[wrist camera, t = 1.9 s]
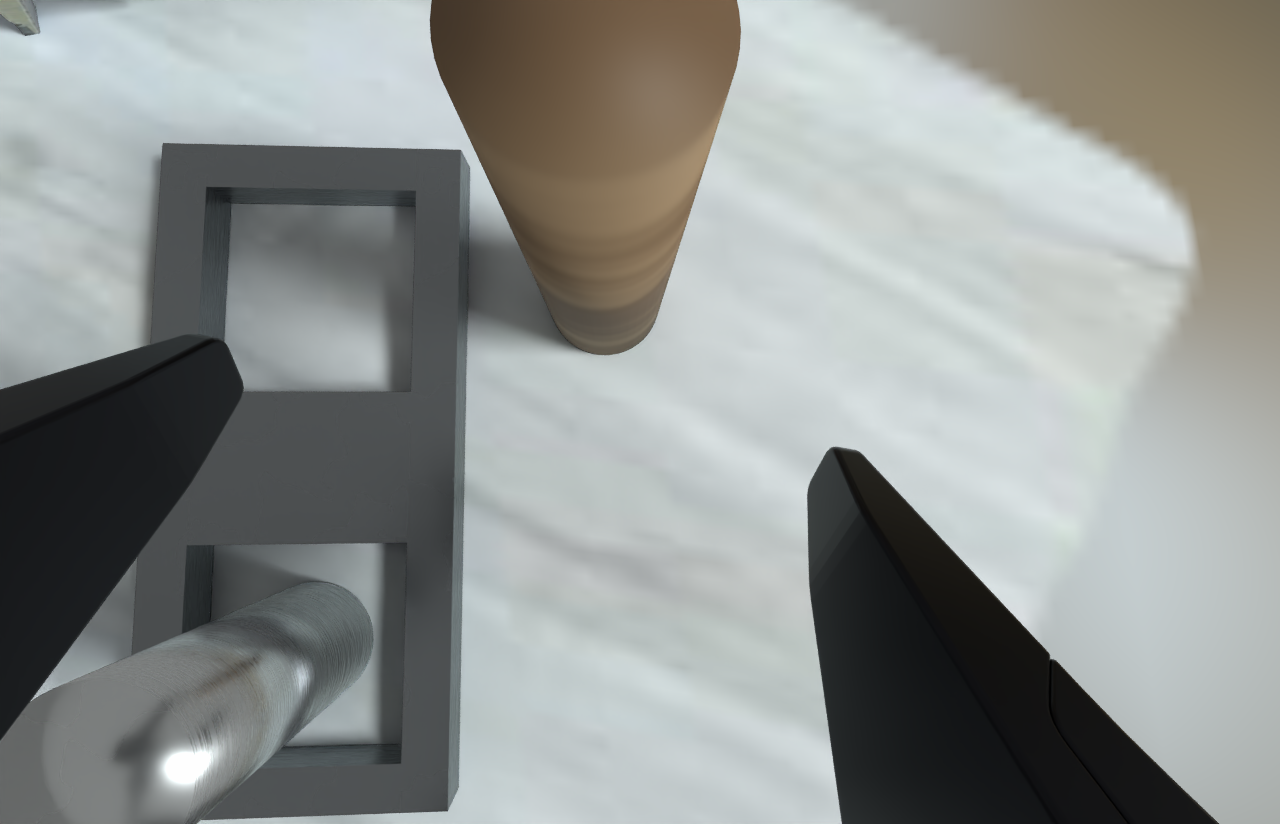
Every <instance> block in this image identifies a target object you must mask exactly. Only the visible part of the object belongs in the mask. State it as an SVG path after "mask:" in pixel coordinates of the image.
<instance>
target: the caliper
mask: <svg viewBox="0 0 1280 824" xmlns="http://www.w3.org/2000/svg"><path fill="white" fill-rule="evenodd" d="M0 14H1V15H2V16H3V17H4V18H6V19H7V20H8V21H9V22H12V23H14V24H15V25H16V26H17V27H18V28H19V30H20V31H21V32H22V33H23V34H24V35H25V36H28V35H34V34H40V29H39V23H38V17H37V11H36V7H35V5H34V3H33V1H32V0H0Z"/></svg>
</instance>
